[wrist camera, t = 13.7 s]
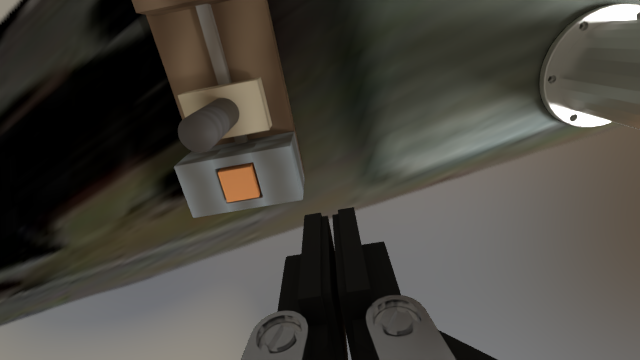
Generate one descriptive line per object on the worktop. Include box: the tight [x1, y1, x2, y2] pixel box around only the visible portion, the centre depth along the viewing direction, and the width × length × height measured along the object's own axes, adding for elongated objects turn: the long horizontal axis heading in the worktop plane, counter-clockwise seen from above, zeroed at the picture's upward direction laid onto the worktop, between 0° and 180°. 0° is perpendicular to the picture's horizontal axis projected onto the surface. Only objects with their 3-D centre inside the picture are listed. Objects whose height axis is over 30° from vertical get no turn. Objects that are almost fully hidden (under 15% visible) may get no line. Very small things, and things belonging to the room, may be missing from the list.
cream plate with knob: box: [178, 77, 272, 153], centre depth 31 cm, size 8×5×10 cm, turn 100°
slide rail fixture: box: [132, 0, 305, 218], centre depth 35 cm, size 12×22×7 cm, turn 10°
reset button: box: [218, 162, 261, 202], centre depth 36 cm, size 3×3×3 cm
